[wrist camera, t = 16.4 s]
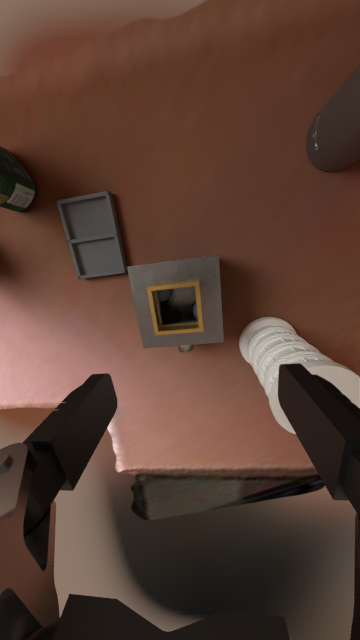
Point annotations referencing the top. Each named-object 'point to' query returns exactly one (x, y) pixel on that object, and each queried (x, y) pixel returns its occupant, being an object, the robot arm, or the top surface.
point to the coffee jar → (14, 183)
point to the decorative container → (290, 361)
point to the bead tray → (93, 234)
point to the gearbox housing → (178, 302)
